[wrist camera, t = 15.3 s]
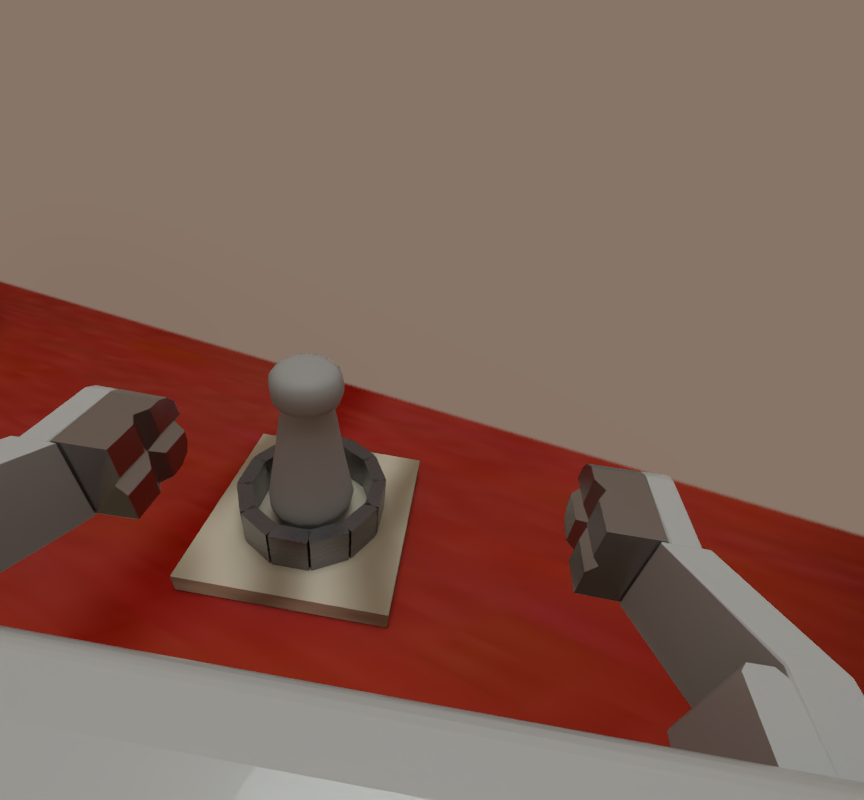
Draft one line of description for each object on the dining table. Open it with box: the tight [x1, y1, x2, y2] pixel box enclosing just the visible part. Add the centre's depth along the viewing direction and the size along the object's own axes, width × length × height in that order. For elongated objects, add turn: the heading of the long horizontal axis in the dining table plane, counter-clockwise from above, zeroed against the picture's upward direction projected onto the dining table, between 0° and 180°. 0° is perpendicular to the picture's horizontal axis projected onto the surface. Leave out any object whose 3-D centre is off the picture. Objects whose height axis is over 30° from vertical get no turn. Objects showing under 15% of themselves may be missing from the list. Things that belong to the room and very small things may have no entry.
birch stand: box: [170, 434, 420, 628], centre depth 34 cm, size 14×14×2 cm
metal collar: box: [237, 438, 386, 571], centre depth 33 cm, size 10×10×3 cm
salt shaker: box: [268, 354, 354, 530], centre depth 29 cm, size 6×6×13 cm
